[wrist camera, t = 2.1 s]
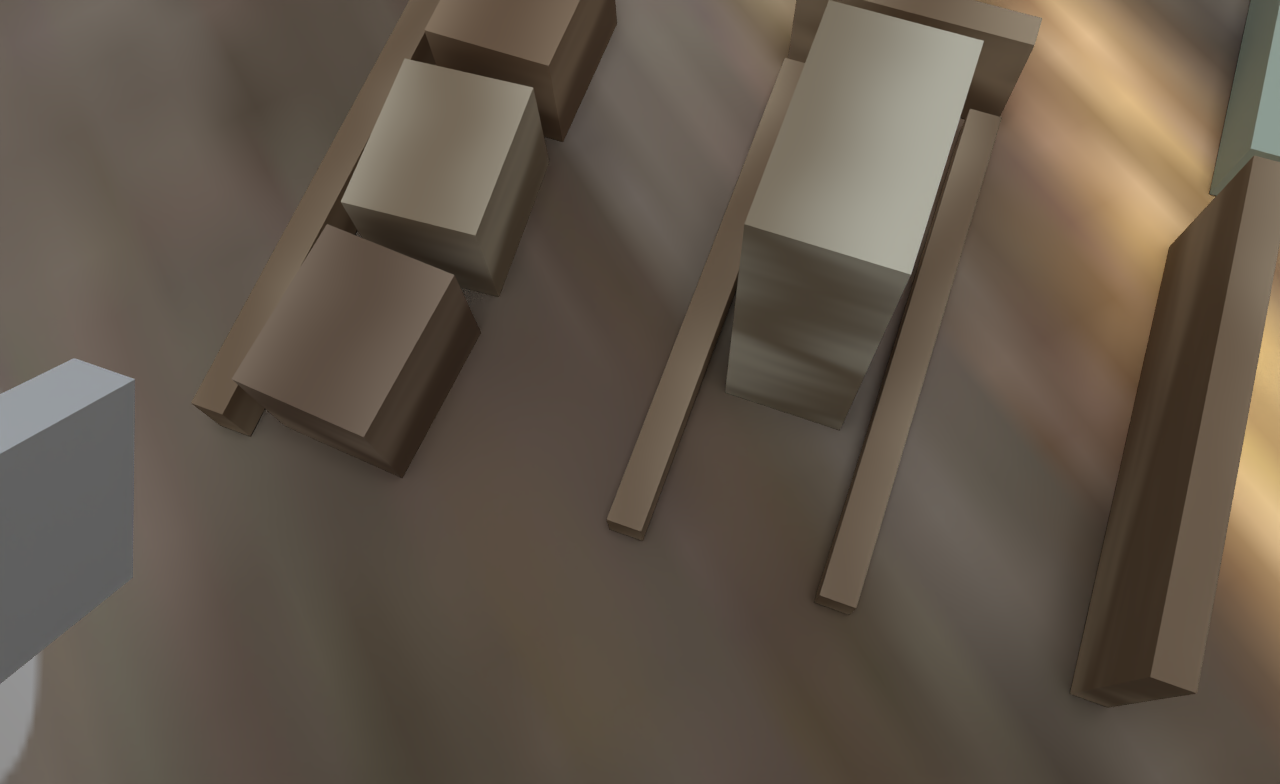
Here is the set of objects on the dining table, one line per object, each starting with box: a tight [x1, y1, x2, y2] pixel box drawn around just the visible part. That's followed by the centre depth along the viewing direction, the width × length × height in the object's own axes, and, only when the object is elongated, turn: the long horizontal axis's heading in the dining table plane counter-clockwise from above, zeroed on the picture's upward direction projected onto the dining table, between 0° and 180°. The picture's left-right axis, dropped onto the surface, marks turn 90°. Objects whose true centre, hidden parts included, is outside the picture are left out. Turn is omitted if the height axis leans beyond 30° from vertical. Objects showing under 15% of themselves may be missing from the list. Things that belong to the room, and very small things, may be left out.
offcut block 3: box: [232, 224, 481, 478], centre depth 29 cm, size 4×5×4 cm
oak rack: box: [191, 0, 1280, 707], centre depth 29 cm, size 26×18×5 cm
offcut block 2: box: [341, 59, 549, 297], centre depth 31 cm, size 4×5×4 cm
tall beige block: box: [725, 0, 984, 430], centre depth 27 cm, size 4×6×10 cm, turn 160°
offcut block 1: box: [424, 0, 617, 142], centre depth 33 cm, size 4×5×4 cm
